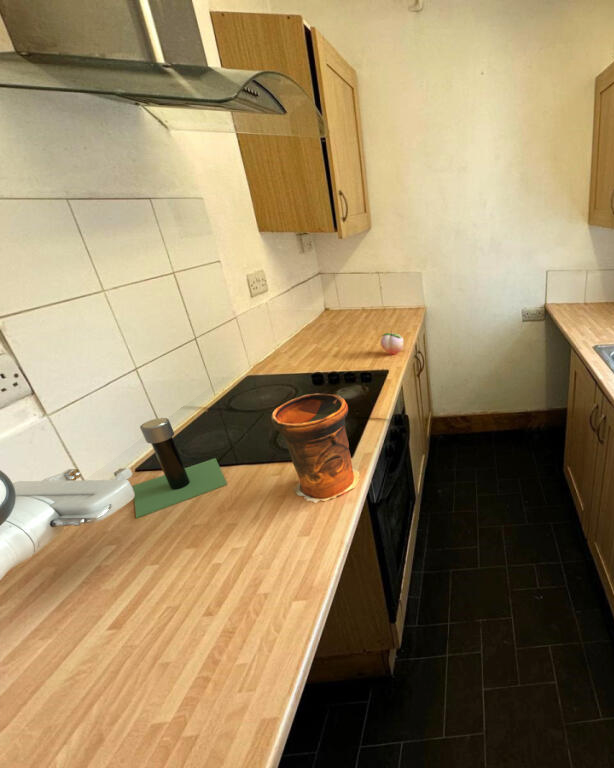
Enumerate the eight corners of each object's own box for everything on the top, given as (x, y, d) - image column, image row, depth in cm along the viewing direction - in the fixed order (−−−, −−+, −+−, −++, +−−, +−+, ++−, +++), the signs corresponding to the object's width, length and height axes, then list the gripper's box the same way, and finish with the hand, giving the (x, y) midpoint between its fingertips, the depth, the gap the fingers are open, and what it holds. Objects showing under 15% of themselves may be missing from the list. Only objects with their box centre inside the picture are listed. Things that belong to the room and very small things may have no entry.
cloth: (136, 518, 85) (136, 517, 85) (133, 486, 94) (132, 485, 94) (227, 484, 94) (226, 483, 94) (216, 458, 104) (215, 457, 104)
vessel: (312, 516, 85) (289, 431, 76) (282, 487, 93) (258, 408, 85) (374, 482, 95) (359, 404, 86) (342, 459, 103) (326, 386, 95)
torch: (168, 494, 91) (140, 431, 84) (166, 484, 94) (138, 422, 88) (194, 485, 94) (169, 423, 87) (191, 475, 97) (167, 415, 91)
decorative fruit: (408, 351, 175) (406, 328, 171) (401, 358, 168) (398, 334, 164) (387, 350, 177) (384, 327, 173) (379, 357, 169) (375, 333, 165)
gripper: (81, 508, 63) (152, 456, 75) (-56, 510, 63) (38, 458, 75) (98, 540, 65) (164, 484, 78) (-33, 542, 65) (54, 486, 78)
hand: (101, 471), depth 77 cm, fingers open, 8 cm apart
